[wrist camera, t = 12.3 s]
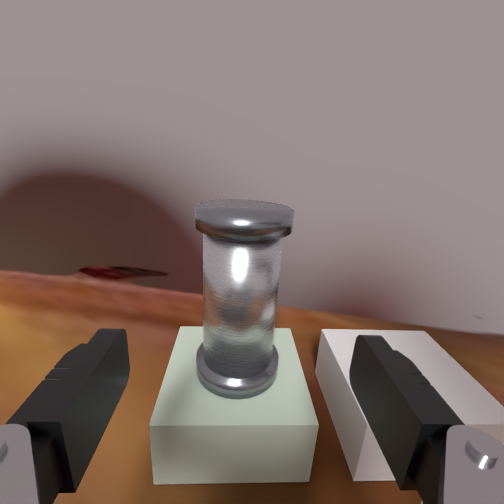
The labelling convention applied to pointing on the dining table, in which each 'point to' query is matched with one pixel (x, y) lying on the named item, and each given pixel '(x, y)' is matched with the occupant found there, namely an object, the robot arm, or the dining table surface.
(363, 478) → the stand
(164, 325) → the dining table surface
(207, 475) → the stand
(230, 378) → the cylinder
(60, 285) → the dining table surface
